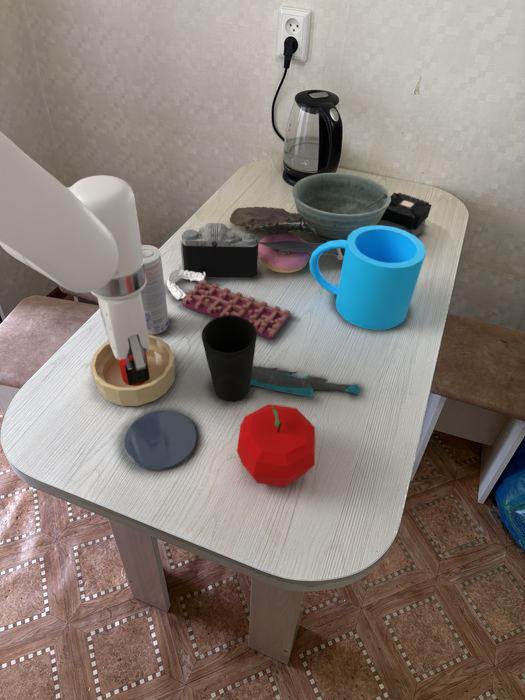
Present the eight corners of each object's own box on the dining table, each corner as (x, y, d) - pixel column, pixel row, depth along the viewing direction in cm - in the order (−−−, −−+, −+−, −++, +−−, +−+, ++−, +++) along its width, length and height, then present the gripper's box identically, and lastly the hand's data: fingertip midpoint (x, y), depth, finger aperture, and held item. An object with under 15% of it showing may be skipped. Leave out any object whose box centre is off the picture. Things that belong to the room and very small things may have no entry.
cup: (255, 408, 76) (255, 355, 67) (205, 406, 76) (198, 353, 67) (257, 369, 81) (257, 315, 72) (209, 368, 81) (204, 314, 72)
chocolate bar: (201, 284, 98) (200, 276, 96) (289, 316, 92) (290, 308, 90) (180, 304, 93) (179, 296, 92) (271, 340, 87) (272, 331, 86)
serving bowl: (106, 418, 74) (101, 400, 71) (88, 363, 81) (83, 345, 79) (185, 393, 78) (184, 375, 75) (161, 343, 86) (159, 325, 83)
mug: (412, 296, 98) (431, 236, 89) (398, 338, 89) (418, 276, 80) (316, 270, 103) (325, 210, 94) (294, 308, 94) (301, 246, 85)
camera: (256, 260, 104) (258, 216, 97) (257, 279, 100) (259, 235, 93) (184, 258, 104) (181, 214, 97) (182, 278, 99) (178, 233, 92)
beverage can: (175, 321, 90) (167, 249, 79) (157, 340, 86) (147, 267, 76) (148, 312, 91) (137, 240, 81) (130, 330, 88) (116, 257, 77)
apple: (323, 490, 67) (333, 445, 60) (244, 505, 65) (245, 460, 58) (300, 426, 74) (307, 380, 67) (229, 438, 72) (229, 392, 65)
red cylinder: (126, 388, 77) (120, 363, 73) (119, 370, 80) (113, 345, 76) (152, 381, 79) (148, 355, 75) (145, 363, 81) (140, 337, 77)
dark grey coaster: (135, 481, 66) (135, 479, 66) (116, 425, 73) (116, 423, 72) (206, 455, 70) (206, 453, 69) (183, 404, 76) (182, 401, 76)
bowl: (334, 269, 103) (342, 226, 96) (270, 226, 115) (272, 184, 108) (400, 238, 113) (411, 197, 106) (335, 201, 124) (341, 161, 117)
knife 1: (389, 266, 106) (381, 249, 109) (393, 260, 105) (385, 243, 108) (258, 256, 95) (253, 237, 98) (261, 249, 94) (256, 230, 97)
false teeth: (182, 266, 100) (182, 258, 98) (207, 281, 99) (208, 273, 97) (156, 291, 96) (155, 282, 94) (182, 306, 95) (182, 298, 93)
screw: (383, 196, 105) (385, 192, 105) (387, 199, 105) (389, 195, 104) (361, 208, 101) (363, 205, 100) (365, 212, 101) (367, 208, 100)
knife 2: (358, 409, 77) (361, 385, 80) (359, 404, 76) (362, 381, 80) (205, 378, 80) (214, 356, 84) (204, 373, 80) (214, 352, 83)
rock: (291, 223, 117) (227, 223, 115) (292, 206, 116) (227, 206, 113) (322, 235, 94) (242, 235, 91) (323, 214, 93) (243, 214, 90)
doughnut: (316, 272, 103) (320, 256, 100) (267, 281, 100) (269, 264, 97) (295, 240, 110) (298, 224, 106) (248, 247, 106) (250, 230, 103)
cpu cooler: (371, 228, 116) (412, 243, 112) (376, 205, 112) (419, 220, 108) (389, 210, 122) (429, 224, 119) (395, 188, 118) (436, 202, 115)
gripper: (74, 247, 70) (98, 343, 83) (101, 319, 59) (124, 417, 72) (127, 236, 72) (143, 331, 85) (163, 304, 62) (175, 401, 74)
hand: (134, 370), depth 78 cm, fingers closed on red cylinder, 4 cm apart
